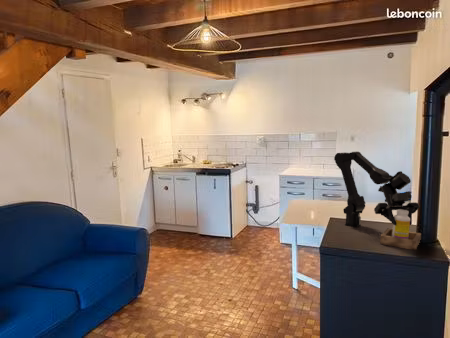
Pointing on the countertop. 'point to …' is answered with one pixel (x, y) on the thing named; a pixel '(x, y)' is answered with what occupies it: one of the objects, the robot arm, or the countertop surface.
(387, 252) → the countertop surface
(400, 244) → the box
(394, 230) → the supplement bottle
